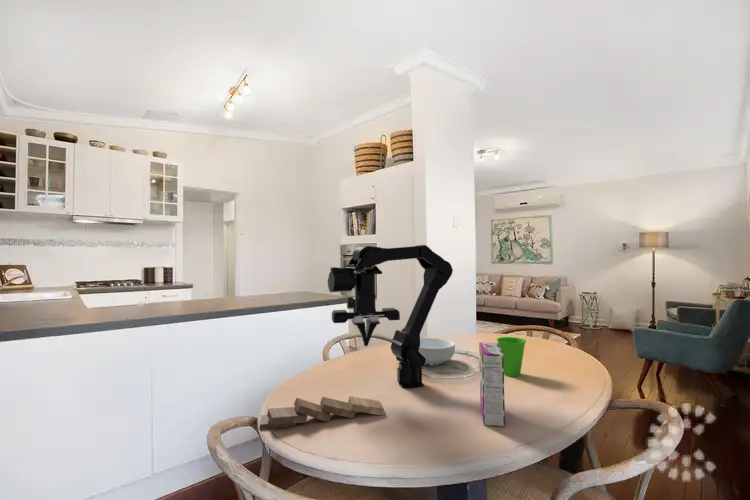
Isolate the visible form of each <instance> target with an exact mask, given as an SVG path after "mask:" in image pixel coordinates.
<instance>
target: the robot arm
mask: <svg viewBox="0 0 750 500" xmlns="http://www.w3.org/2000/svg"><path fill="white" fill-rule="evenodd" d="M413 259H416V260H417V261H418V263H419V265H420V267H421V268H423V269H424V272H423V285H422V288H421V290H420V293H419V295H418V296H417V299H416V301H415V304H414V306H413V309H412V310H411V313H410V316H409V317H408V319H407V322H406V324H405V326H404V327H403V328H402V329H401V330H399V329H396V330H395V332H394V334H393V338H391V340H390V343H391V344H390V350H391V353H392V354H393V355H394V357H395V359H396V361H398V367H397V368H396V374H397V375H396V377H397V381H396V382H397V383H398V384H399V385H400V387H402V388H404V389H406V388H409V389H410V388H418V387H424V386H425V384H424V382H423V366H425V361H426V358H425V357H424V356H423V355H422V354H421V353H420V352H419V347H420V338H421V332H422V330H423V328H424V326H425V323H426V320H427V318H428V316H429V314H430V311H431V310H432V306H433V304H434V302H435V300H436V297H437V295H438V293H439V291H440V290H441V289H442V288H443V287H444V286H445V285H446V284H447V283H448V281H449V280H450V278H451V277H452V275H453V272H454V271H453V270H454V269H453V266H452V265H451V262H449V261H447V260H445V259H444V258H443V257H442V256H441V255H439V254H437V253H436V252H434V251H433V250H432V249H431V248H430V247H429V246H428V245H425V244H418V245H415V246H414V245H413V246H402V247H388V248H387V247H381V246H380V247H379V246H372V245H371V246H369V245H368V246H365V245H364V246H362V245H361V246H357V247H356V248H355V249H354V250H353V251H352V256H351V258H350V260H349V261H348V263H347V264H346V265H345V267H335V266H334V267H333V266H331V267H330V270H329V274H328V278H327V287H328V290H329V292H330V293H341V292H352V290H353V289H354V296H355V298H354V296H353V297H347V298H346V308H347V309H348V310H353V312H352V311H349V312H348V311H347V310H346V309H333V310H332V312H331V321H332V323H333V324H346V322H348V321H349V320H351V323H352V324H353V326H356V327H357V328H358V329H357V330H358V331H359V334H360V337H361V340H362V343H363V345H364V347H368V346H369V343H370V340H371V338H372V335H373V333H374V330H375V329H376V327H377V326H378V325H380V324H381V321H379V320H380V319H381V318H382V319H383V318H386V319H387V320H389V321H400V320H401V317H400V316H401V314H400V311H399V310H398V309H397V308H395V307H382V308H381V310H380V311H379V310H378V311H377V309H376V305H377V304H376V298H377V294H376V275H382V274H383V271H382V270H380V268H378V265H381V264H384V263H387V262H390V261H400V260H401V261H402V260H413ZM367 267H368V268H367ZM355 271H356V272H355ZM364 319H365V320H366V321H365V322H366V323H365V322H364Z"/></svg>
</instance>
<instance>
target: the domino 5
mask: <svg viewBox="0 0 750 500" xmlns="http://www.w3.org/2000/svg"><path fill="white" fill-rule="evenodd" d="M347 403H348V404H349V407H350V410H351V411H356V412H359V413H364V414H371V415H377V416H384V411H385V407H384V406H383V405H382V403H381V401H380V400H376V399H372V398H371V399H370V398H363V397H357V396H351V395H349V396H348V399H347Z"/></svg>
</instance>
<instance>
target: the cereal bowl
mask: <svg viewBox="0 0 750 500" xmlns="http://www.w3.org/2000/svg"><path fill="white" fill-rule="evenodd" d="M455 348H456V344H455V342H454V341H451V340H448V339H445V338H437V337H435V338H434V337H420V347H419V352H420V353H421V354H422V355H423V356H424V357H425V358H426V361H425V364H439V365H441V364H443V363H445V362H447V361H449V360H451V359H452V358H453V357H454V356H455Z"/></svg>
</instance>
